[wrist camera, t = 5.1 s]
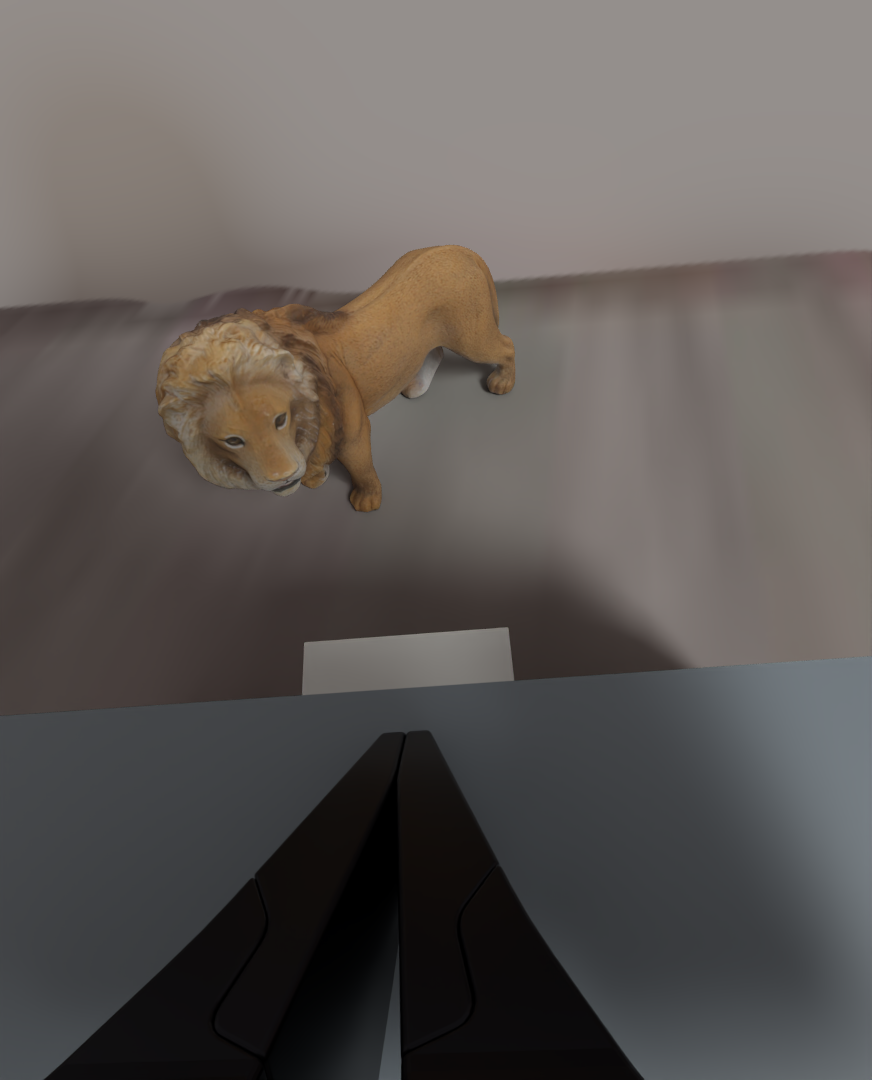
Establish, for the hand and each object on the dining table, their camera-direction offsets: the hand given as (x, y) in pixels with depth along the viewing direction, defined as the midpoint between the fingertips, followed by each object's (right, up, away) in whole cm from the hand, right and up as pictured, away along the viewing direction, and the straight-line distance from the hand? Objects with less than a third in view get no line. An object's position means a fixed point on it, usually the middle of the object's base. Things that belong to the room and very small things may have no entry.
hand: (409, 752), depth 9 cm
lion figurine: (-1, +7, +12) cm, 14 cm away
